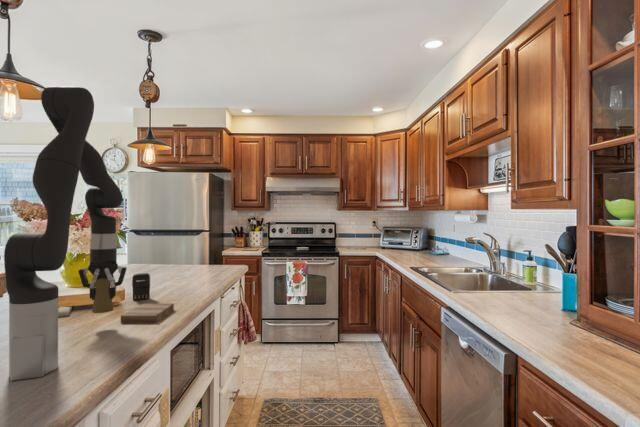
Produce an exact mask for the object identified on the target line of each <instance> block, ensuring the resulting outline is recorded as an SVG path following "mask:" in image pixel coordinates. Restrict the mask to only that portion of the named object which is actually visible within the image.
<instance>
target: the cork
mask: <svg viewBox="0 0 640 427" xmlns="http://www.w3.org/2000/svg"><path fill="white" fill-rule="evenodd" d="M94 286H95V288H96V290H95V297H94V300H93V304H92V310H91V313H92V314H103V313H104V314H105V313H110V312H112V311H114V305H113V299H110V288H111V285H110V281H109V280H108V278H98V279H97V280H96V282H94Z"/></svg>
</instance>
